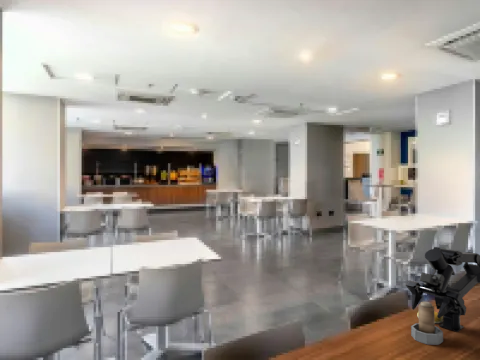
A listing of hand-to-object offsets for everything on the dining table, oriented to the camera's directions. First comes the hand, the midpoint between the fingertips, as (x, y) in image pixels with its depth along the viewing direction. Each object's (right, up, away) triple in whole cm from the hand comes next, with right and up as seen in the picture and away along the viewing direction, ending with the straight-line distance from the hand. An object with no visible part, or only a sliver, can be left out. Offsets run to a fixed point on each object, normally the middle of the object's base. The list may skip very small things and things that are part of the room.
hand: (425, 312), depth 119 cm
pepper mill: (+1, -9, 0) cm, 9 cm away
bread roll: (+11, -10, +17) cm, 23 cm away
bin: (+1, -9, 0) cm, 9 cm away
